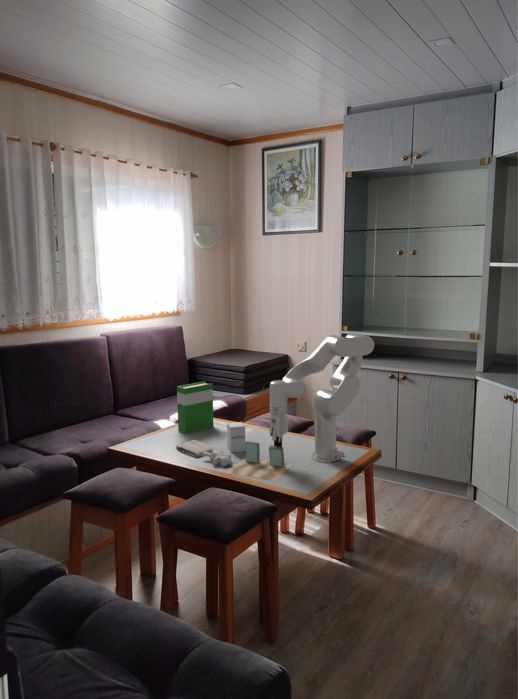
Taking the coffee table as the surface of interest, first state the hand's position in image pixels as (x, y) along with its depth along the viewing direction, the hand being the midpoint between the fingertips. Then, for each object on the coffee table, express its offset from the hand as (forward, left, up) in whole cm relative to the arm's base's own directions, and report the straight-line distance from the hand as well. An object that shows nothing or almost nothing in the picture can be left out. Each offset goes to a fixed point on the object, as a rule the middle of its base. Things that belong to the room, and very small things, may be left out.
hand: (278, 450), depth 239 cm
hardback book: (+61, -33, -7) cm, 69 cm away
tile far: (+12, +1, -7) cm, 14 cm away
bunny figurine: (+26, +7, -7) cm, 28 cm away
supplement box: (+26, -11, -7) cm, 29 cm away
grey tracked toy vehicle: (+44, -3, -8) cm, 45 cm away
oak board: (+6, +7, -7) cm, 11 cm away
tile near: (0, +1, -7) cm, 7 cm away
